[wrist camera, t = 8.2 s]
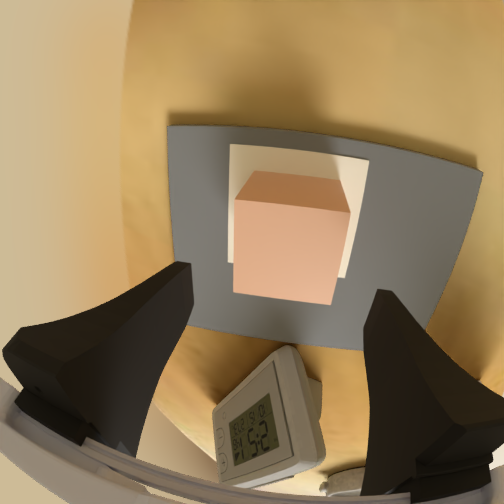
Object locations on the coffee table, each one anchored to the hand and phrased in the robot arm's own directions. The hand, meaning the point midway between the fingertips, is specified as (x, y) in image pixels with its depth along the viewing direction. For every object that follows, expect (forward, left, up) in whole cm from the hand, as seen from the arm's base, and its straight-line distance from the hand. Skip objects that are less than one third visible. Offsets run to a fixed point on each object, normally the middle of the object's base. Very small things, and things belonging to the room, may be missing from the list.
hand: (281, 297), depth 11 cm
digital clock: (0, +19, -9) cm, 21 cm away
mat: (-2, +3, -9) cm, 9 cm away
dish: (-20, +48, -9) cm, 53 cm away
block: (0, 0, -8) cm, 8 cm away
